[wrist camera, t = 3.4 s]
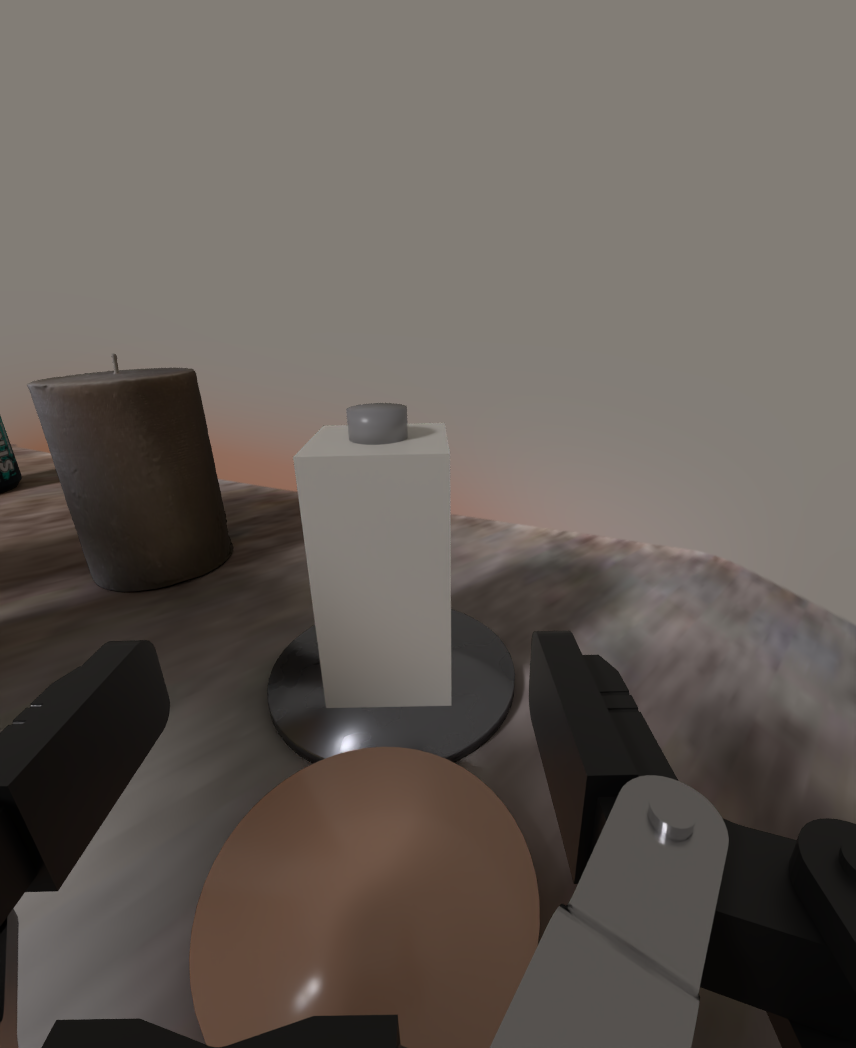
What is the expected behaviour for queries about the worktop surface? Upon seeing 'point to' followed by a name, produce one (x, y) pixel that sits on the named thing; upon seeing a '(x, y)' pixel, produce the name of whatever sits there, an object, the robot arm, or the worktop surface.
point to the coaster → (368, 904)
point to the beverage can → (7, 463)
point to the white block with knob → (379, 557)
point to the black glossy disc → (434, 729)
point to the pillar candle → (136, 474)
